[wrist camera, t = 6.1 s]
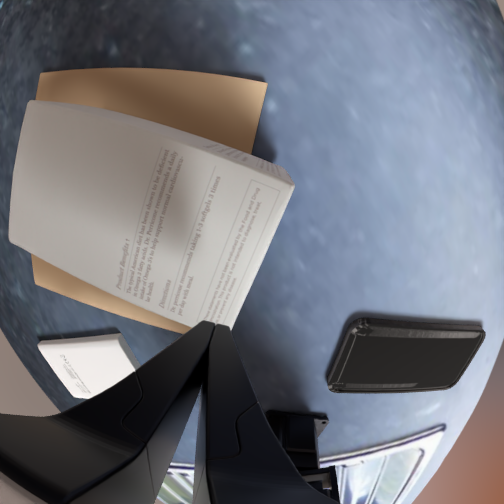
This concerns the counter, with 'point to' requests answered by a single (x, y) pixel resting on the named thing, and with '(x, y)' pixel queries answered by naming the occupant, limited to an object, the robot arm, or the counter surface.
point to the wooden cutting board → (163, 112)
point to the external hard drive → (90, 362)
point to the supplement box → (144, 209)
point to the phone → (402, 356)
